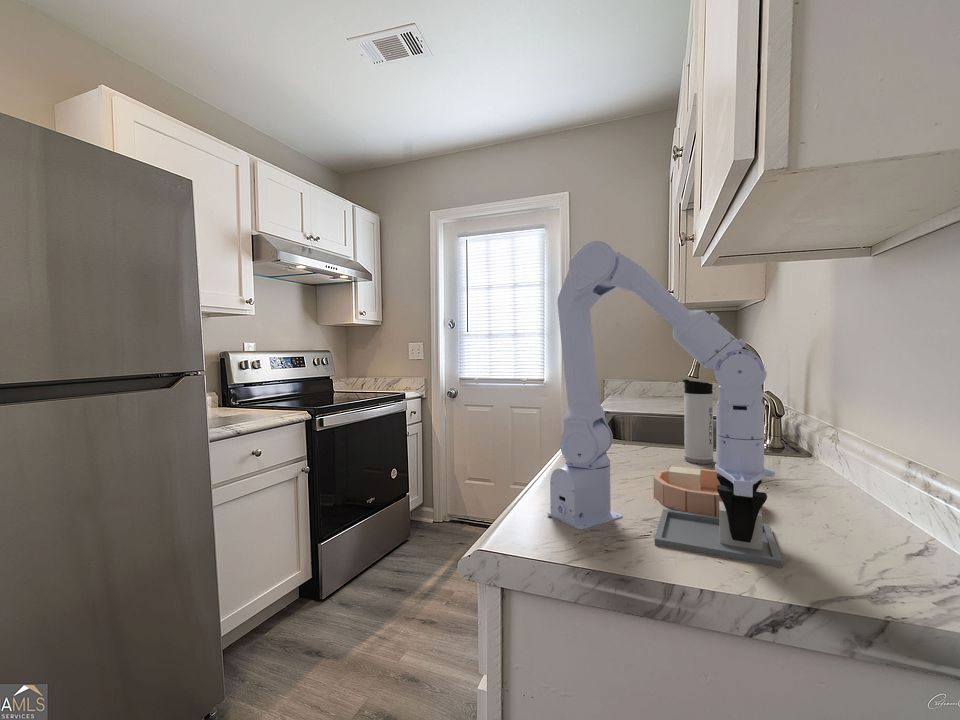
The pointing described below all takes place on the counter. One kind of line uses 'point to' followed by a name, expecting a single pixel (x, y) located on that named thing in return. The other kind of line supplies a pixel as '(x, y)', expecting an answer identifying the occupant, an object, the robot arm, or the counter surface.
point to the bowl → (689, 494)
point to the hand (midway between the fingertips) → (739, 532)
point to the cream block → (685, 478)
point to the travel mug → (698, 422)
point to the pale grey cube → (726, 535)
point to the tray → (711, 538)
